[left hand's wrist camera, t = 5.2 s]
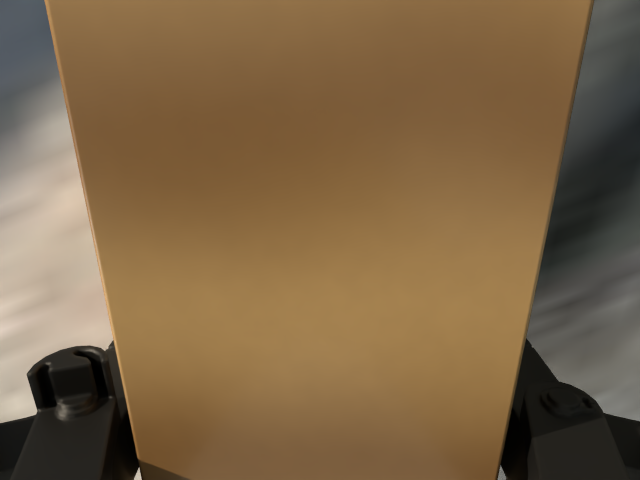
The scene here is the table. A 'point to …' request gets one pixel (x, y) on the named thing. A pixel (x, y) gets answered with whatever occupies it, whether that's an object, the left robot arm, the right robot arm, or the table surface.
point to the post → (319, 222)
